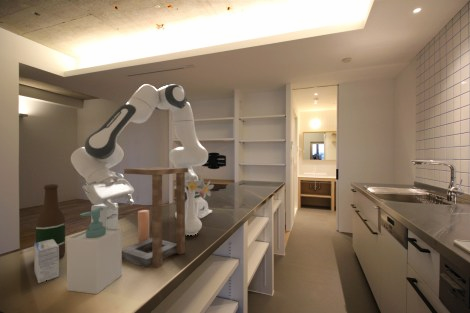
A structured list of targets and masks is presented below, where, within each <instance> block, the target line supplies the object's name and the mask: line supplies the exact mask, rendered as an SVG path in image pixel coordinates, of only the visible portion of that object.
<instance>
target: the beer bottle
mask: <svg viewBox="0 0 470 313" xmlns="http://www.w3.org/2000/svg"><path fill="white" fill-rule="evenodd" d="M58 188H59V185H58V184H57V183H50V184H45V185H44V186H43V190H44V199H43V202H44V203H43V208H42V210H41V212H40V213H39V214H38V217H37V219H36V222H35V243H38V242H42V241H46V240H51V239H54V241H55V242H56V243H57V245H58V246H59V259H61V258H63V257H65V256H66V217H65V216H66V215H65V213H64V211H63V210H62V209H61V208H60V205H59V199H58V198H59V197H58V196H59V195H58Z"/></svg>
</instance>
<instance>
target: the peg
mask: <svg viewBox="0 0 470 313" xmlns="http://www.w3.org/2000/svg"><path fill="white" fill-rule="evenodd" d="M148 239H150V210H148V209H142V210H138V211H137V244H138V243H140V242H143V241H145V240H148Z"/></svg>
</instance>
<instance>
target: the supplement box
mask: <svg viewBox="0 0 470 313" xmlns="http://www.w3.org/2000/svg"><path fill="white" fill-rule="evenodd" d="M113 203H114V204H117V206H119V203H118V202H113ZM98 208H103V210H102V211H100V218H99V222H102V223H103V226H105V227H106V228H111V229H119V208H118V209H117V210H114V211H113V210H112V209H111V208H109V207H107V206H105V205H104V204H100V205H94V204H92V205H91V210H90V211H93V210H96V209H98ZM90 217H91V218H90V220H91V221H90V223H93V219H92V216H90Z"/></svg>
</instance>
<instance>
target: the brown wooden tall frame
mask: <svg viewBox="0 0 470 313" xmlns="http://www.w3.org/2000/svg"><path fill="white" fill-rule="evenodd" d="M123 170H124V171H123V172H124V173H123V174H124V175H125V174H126V175H142V176H143V175H144V176H151V177H152V178H151V181H152V184H151V187H152V188H151V192H152V194H151V196H152V201H151V204H152V206H151V210H152V211H151V212H152V213H151V216H152V217H151V219H152V220H151V222H152V224H151V225H152V226H151V227H152V228H151V229H152V232H151V233H152V235H151V236H152V237H151V238H150V237H149V239H148V240H145V241H143V242H140V243H138V242H137V243H136V244H133V245H131V246H127V247H125V248H123V249H122V261H123V260H124V261H127V262H130V263H132V264H135V265H138V266H140V267H143V268H146V269H149V268H150V267H154V268H157V269H158V268H159V267H161V266H163V261H164V260H165V259H167V258H169V257H171V256H173V255H174V254H178V255H182V254H183V255H184V253H186V235H185V172H188V168H175V167H163V166H161V167H159V166H157V167H139V168H138V167H136V168H124V169H123ZM172 174H174V175H175V174H176V175H175V178H176V180H175V182H176V189H175V191H176V192H175V195H176V198H175V202H176V204H175V206H176V207H175V208H176V209H175V210H176V211H175V213H176V217H175V219H176V222H175V223H176V225H175V227H176V228H175V229H176V232H175V233H176V234H175V235H176V238H175V240H176V241H175V242H176V243H175V242H171V241H168V240H163V175H172ZM150 250H152V251H150ZM147 251H150V252H149V253H147Z"/></svg>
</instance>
